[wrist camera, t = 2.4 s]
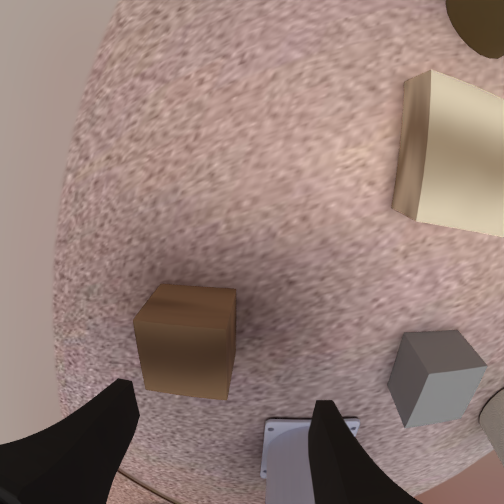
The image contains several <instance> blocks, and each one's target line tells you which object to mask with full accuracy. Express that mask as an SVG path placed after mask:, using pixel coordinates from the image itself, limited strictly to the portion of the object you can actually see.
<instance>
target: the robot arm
mask: <svg viewBox="0 0 504 504" xmlns="http://www.w3.org/2000/svg"><path fill="white" fill-rule="evenodd" d="M139 416H140V414H139V410H138V406H137V401H136V397H135V393H134V388H133V384H132V381H129V380H124V379H119V378H118V379H117V380H116V381H114V382H113V383H112V384H111V385H109V386H108V387H107V388H106V389H104V390H103V391H102V392H100V393H99V394H98V395H97V396H95V397H94V398H93V399H92V400H90V401H89V402H88V403H86V404H85V405H84V406H82V407H81V408H79V409H78V410H77V411H75V412H74V413H72V414H71V415H69V416H68V417H66V418H65V419H63V420H61V421H60V422H58V423H56V424H54V425H52V426H50V427H48V428H47V429H44V430H42V431H40V432H38V433H36V434H33V435H31V436H28V437H26V438H23V439H20V440H17V441H13V442H10V443H6V444H2V445H0V504H106V502H107V498H108V495H109V491H110V488H111V485H112V482H113V479H114V477H115V474H116V472H117V470H118V468H119V466H120V464H121V462H122V459H123V457H124V455H125V453H126V451H127V449H128V447H129V445H130V442H131V440H132V438H133V436H134V433H135V430H136V427H137V423H138V420H139ZM359 426H360V420H359V419H357V418H351V419H343V418H342V416H341V414H340V412H339V411H338V409H337V407H336V405H335V403H334V402H333V401H332V400H316V404H315V408H314V412H313V416H312V420H289V419H269V420H267V421H266V422H265V432H264V442H263V452H262V462H261V471H260V477H262V478H266V498H265V504H422V503H421V502H419V501H417V500H416V499H415V498H413V497H412V496H411V495H409V494H408V493H407V492H406V491H404V490H403V489H402V488H401V487H399V486H398V485H397V484H396V483H394V482H393V481H392V480H391V479H390V478H389V477H388V476H387V475H386V474H385V473H384V472H383V471H382V470H381V469H380V468H379V467H378V466H377V465H376V464H375V462H374V461H373V460H372V459H371V458H370V456H369V455H368V454H367V453H366V451H365V450H364V449H363V448H362V446H361V445H360V444H359V442H358V441H357V439H356V438H355V436H356V433H357V431H358V428H359Z"/></svg>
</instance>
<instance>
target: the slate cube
mask: <svg viewBox="0 0 504 504" xmlns="http://www.w3.org/2000/svg"><path fill="white" fill-rule="evenodd" d="M486 368H487V365H486V363H485V362H484V361H483V360H482V358H481V357H480V356H479V355H478V354H477V352H476V351H475V350H474V349H473V347H472V346H471V345H470V344H469V343H468V342H467V340H466V339H465V338H464V337H463V336H462V334H461V333H460V332H459V331H458V330H448V331H430V332H406V333H404V334H403V337H402V341H401V344H400V348H399V351H398V354H397V357H396V361H395V364H394V367H393V370H392V373H391V376H390V379H389V382H388V388H389V390H390V392H391V395H392V397H393V400H394V402H395V405H396V407H397V410H398V412H399V415H400V417H401V420H402V423H403V425H404V428H410V427H417V426H423V425H429V424H435V423H441V422H446V421H451V420H455V419H460V418H461V417H462V415H463V414H464V412H465V410H466V408H467V406H468V404H469V403H470V401H471V399H472V397H473V395H474V393H475V391H476V389H477V387H478V385H479V383H480V381H481V379H482V377H483V375H484V372H485V370H486Z"/></svg>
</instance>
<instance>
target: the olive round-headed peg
mask: <svg viewBox="0 0 504 504" xmlns="http://www.w3.org/2000/svg"><path fill="white" fill-rule="evenodd" d="M446 7H447V13H448V16H449V18H450V20H451V23H452V25H453V27H454V28H455V30H456V31H457V33H458V34H459V36H460V37H461V38H462V39H463V40H464V41H465V42H466V43H467V44H468V46H469V47H471V48H472V49H473V50H475V51H476V52H477V53H479V54H480V55H483V56H485V57H488V58H497V59H498V58H500V57H502V56H503V55H504V0H446Z"/></svg>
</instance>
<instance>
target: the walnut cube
mask: <svg viewBox="0 0 504 504" xmlns="http://www.w3.org/2000/svg"><path fill="white" fill-rule="evenodd" d="M133 324H134V331H135V337H136V343H137V348H138V354H139V359H140V364H141V369H142V374H143V379H144V384H145V389H146V390H151V391H157V392H163V393H170V394H176V395H184V396H191V397H199V398H208V399H218V400H227V397H228V392H229V386H230V381H231V376H232V370H233V365H234V359H235V354H236V289H231V288H215V287H200V286H186V285H172V284H160V286H159V287H158V288H157V289H156V291H155V292H154V293H153V295H152V296H151V297H150V298H149V300H148V301H147V302H146V304H145V305H144V306H143V307H142V309H141V310H140V311H139V313H138V314H137V315H136V317H135V318H134V319H133Z"/></svg>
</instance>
